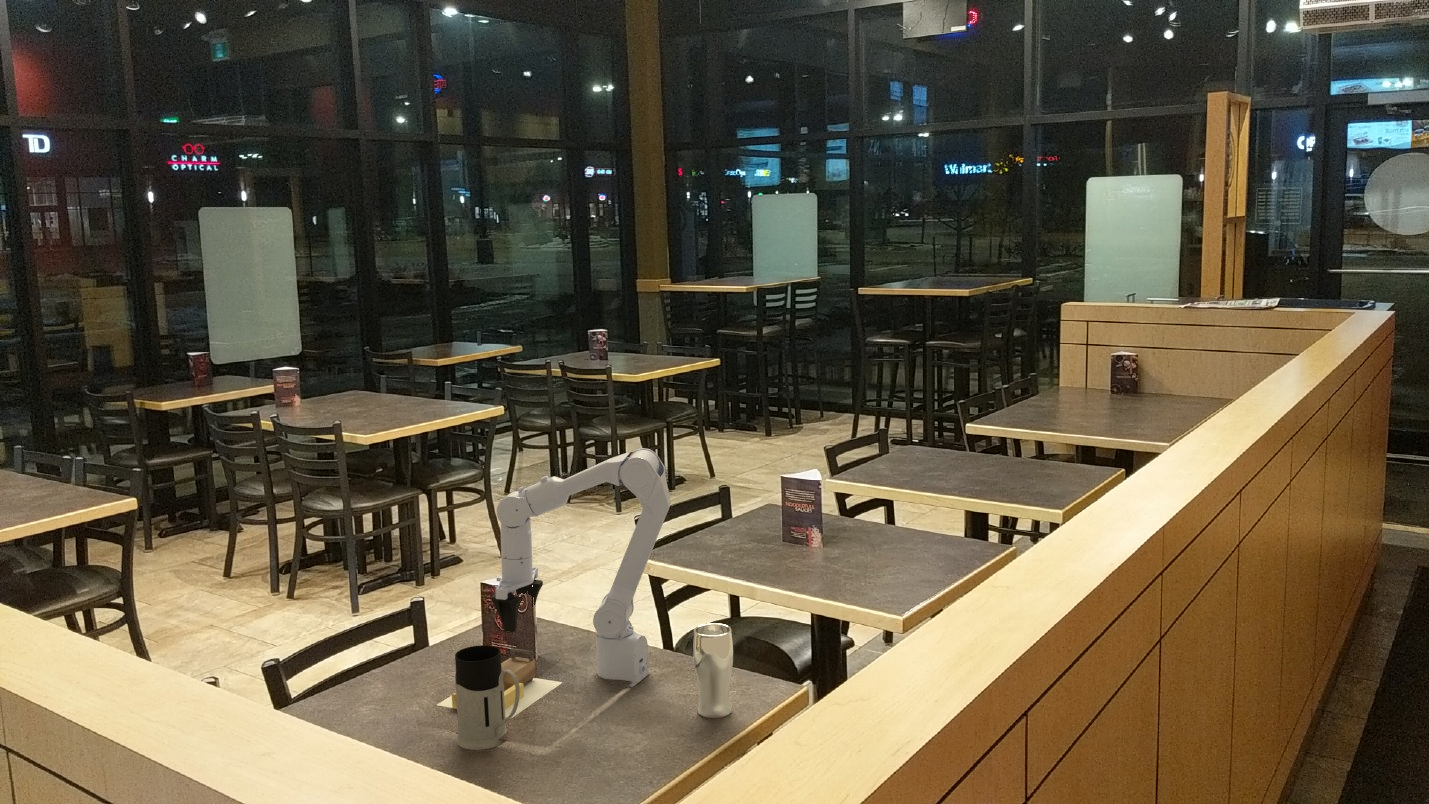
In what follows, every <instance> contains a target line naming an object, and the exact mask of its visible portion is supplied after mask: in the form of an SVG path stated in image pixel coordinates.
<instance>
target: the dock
mask: <svg viewBox="0 0 1429 804" xmlns="http://www.w3.org/2000/svg"><path fill="white" fill-rule="evenodd" d="M562 683H563V682H562V681H556V680H551V679H543V678H539V677H538V678H537V677H533V680H532V681H527V682H526V683H524V684H523V683H519V688H520V696H519V703H518V707H517V710H516V712H515V714H514V715H513V716H512V717H511V718H510V719H513V718H514V717H516V716H518V714H520V713H521V712H523V711H524V710H526V709H527V708H529V707H530V706H531V705H533V704H534V703H536V702H538V700H540V699H541V698H543V697H544V696H546V695H547V694H549V693H550V692H552V691H553V690H554V689H555V688H557V687H558V686H560V685H562ZM504 703H505V718H507V717H508V716H509V715H510V714H511V712H512V709H513V707H514V703H515V685H513V686H512V687H510V688H509V689H508V688H504ZM436 706H438V707H442V708H443V707H444V708H449V709H455V710H457V699H456V691H455V692H452V693H451V695H450V696H449V697H447V698H445V699H444V700H442V701H440V702H439V703H437V704H436Z"/></svg>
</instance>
